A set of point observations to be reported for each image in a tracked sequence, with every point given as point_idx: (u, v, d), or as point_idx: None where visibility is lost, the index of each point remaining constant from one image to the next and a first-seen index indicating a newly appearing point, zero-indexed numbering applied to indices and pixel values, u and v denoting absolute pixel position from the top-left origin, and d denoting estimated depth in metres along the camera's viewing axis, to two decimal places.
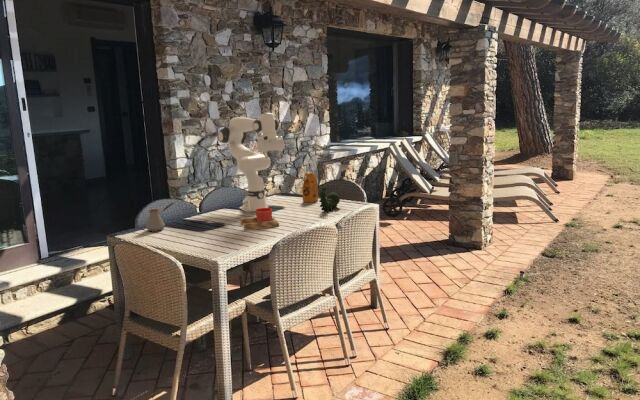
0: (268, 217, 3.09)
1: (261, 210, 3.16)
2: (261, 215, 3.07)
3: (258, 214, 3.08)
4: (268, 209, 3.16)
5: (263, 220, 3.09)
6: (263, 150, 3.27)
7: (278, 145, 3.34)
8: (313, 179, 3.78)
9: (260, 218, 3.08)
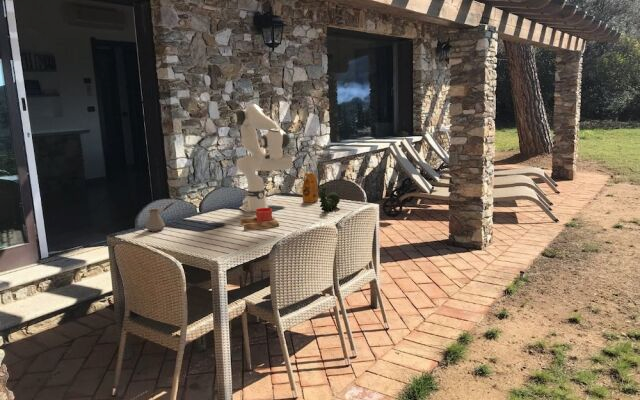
0: (268, 217, 3.09)
1: (261, 210, 3.16)
2: (261, 215, 3.07)
3: (258, 214, 3.08)
4: (268, 209, 3.16)
5: (263, 220, 3.09)
6: (264, 169, 3.08)
7: (284, 164, 3.11)
8: (313, 179, 3.78)
9: (260, 218, 3.08)
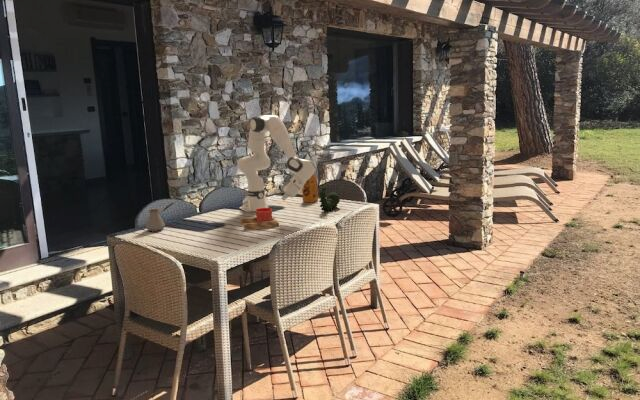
0: (268, 217, 3.09)
1: (261, 210, 3.16)
2: (261, 215, 3.07)
3: (258, 214, 3.08)
4: (268, 209, 3.16)
5: (263, 220, 3.09)
6: None
7: None
8: (313, 179, 3.78)
9: (260, 218, 3.08)
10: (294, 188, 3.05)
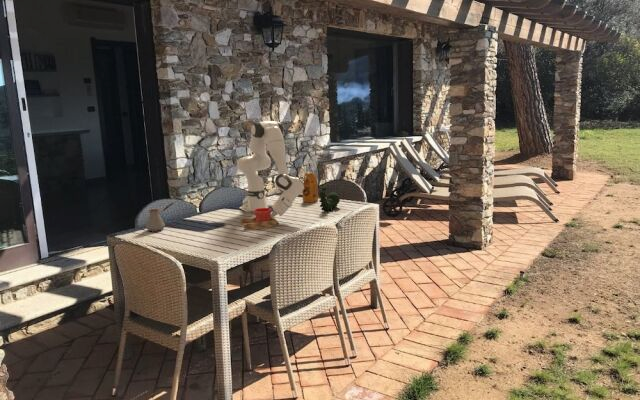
0: (267, 217, 3.09)
1: (260, 210, 3.16)
2: (260, 215, 3.07)
3: (257, 214, 3.08)
4: (267, 209, 3.16)
5: (262, 220, 3.08)
6: None
7: None
8: (313, 179, 3.78)
9: (259, 218, 3.08)
10: (282, 206, 3.05)
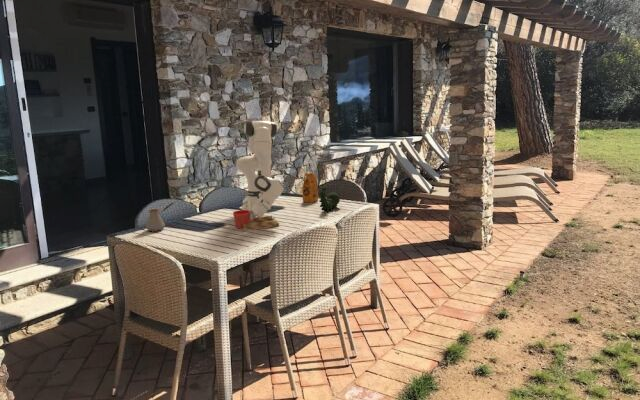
0: (246, 219, 3.05)
1: (239, 212, 3.13)
2: (239, 217, 3.04)
3: (236, 216, 3.04)
4: (246, 211, 3.12)
5: (241, 222, 3.05)
6: None
7: None
8: (313, 179, 3.78)
9: (238, 220, 3.05)
10: (261, 208, 3.02)
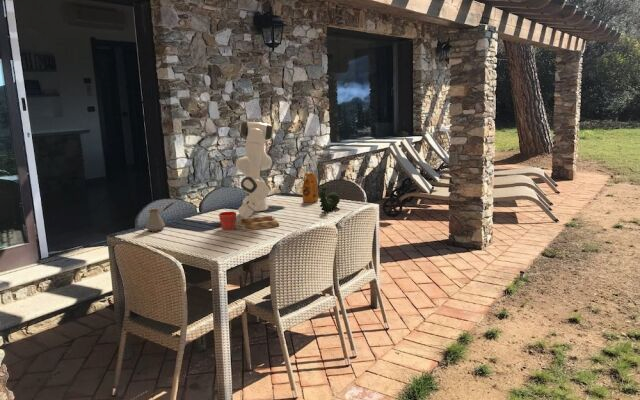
0: (232, 221, 3.03)
1: (225, 214, 3.10)
2: (224, 219, 3.02)
3: (221, 218, 3.02)
4: (232, 213, 3.10)
5: (226, 224, 3.03)
6: None
7: None
8: (313, 179, 3.78)
9: (223, 222, 3.03)
10: (247, 210, 2.99)
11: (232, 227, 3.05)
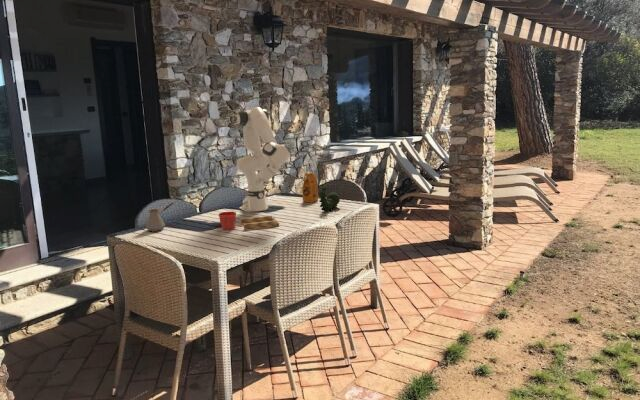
0: (231, 221, 3.03)
1: (225, 214, 3.10)
2: (224, 219, 3.02)
3: (221, 218, 3.02)
4: (232, 213, 3.10)
5: (226, 224, 3.03)
6: None
7: None
8: (313, 179, 3.78)
9: (223, 222, 3.03)
10: (267, 172, 2.99)
11: (232, 227, 3.05)
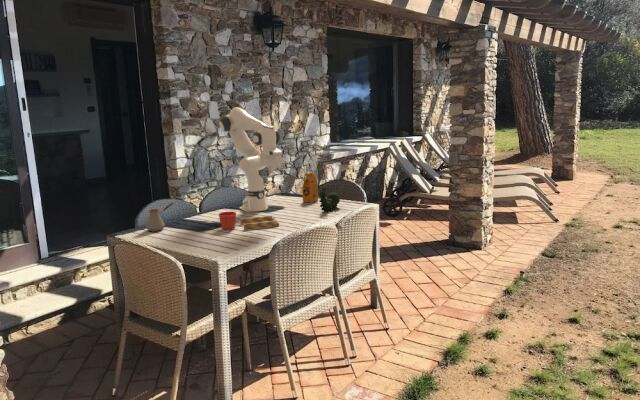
0: (231, 221, 3.03)
1: (225, 214, 3.10)
2: (224, 219, 3.02)
3: (221, 218, 3.02)
4: (232, 213, 3.10)
5: (226, 224, 3.03)
6: None
7: None
8: (313, 179, 3.78)
9: (223, 222, 3.03)
10: (277, 158, 3.07)
11: (232, 227, 3.05)
